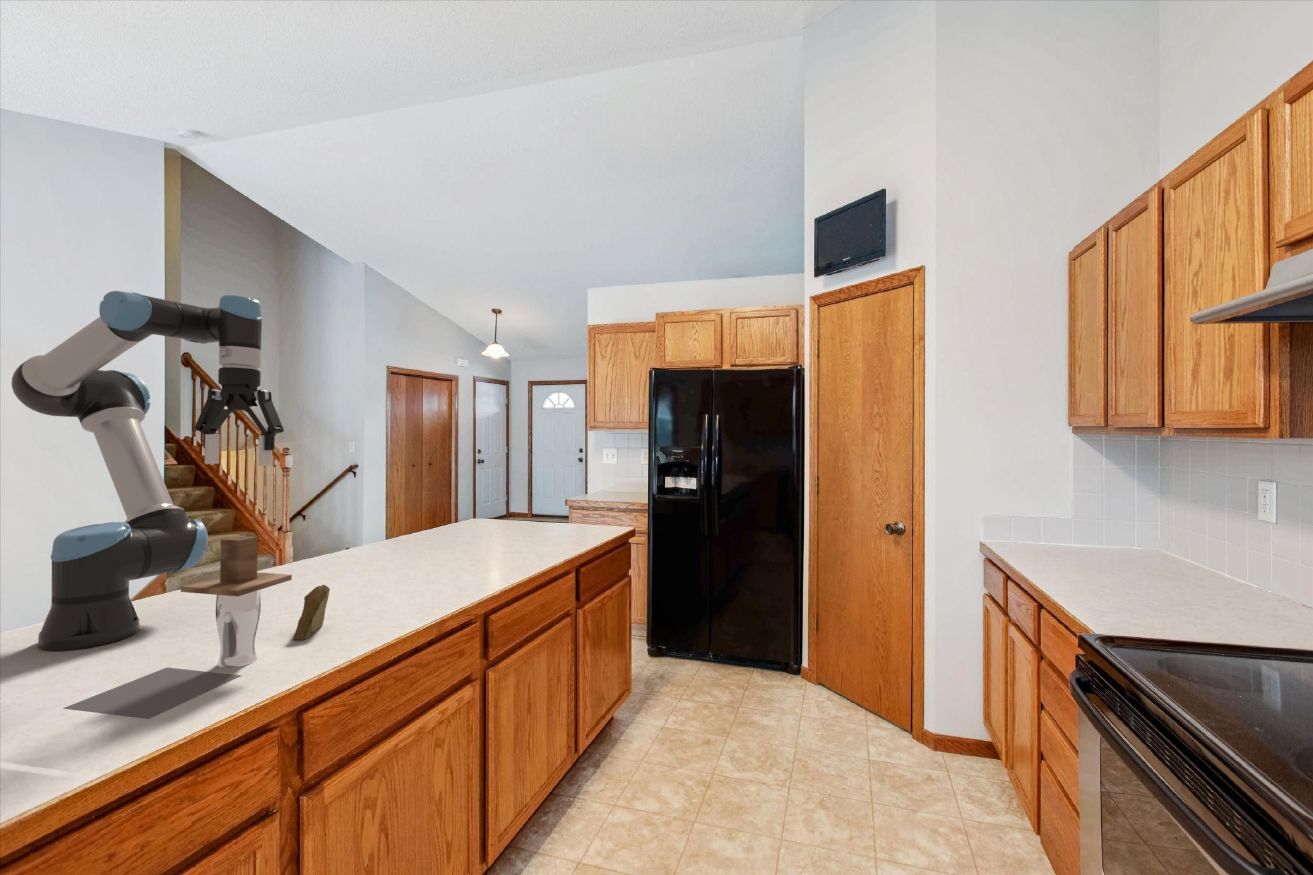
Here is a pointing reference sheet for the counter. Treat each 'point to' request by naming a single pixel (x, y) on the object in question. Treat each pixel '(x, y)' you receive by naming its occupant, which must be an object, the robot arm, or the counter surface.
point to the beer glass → (237, 628)
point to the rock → (312, 612)
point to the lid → (237, 571)
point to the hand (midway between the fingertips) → (238, 464)
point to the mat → (154, 693)
